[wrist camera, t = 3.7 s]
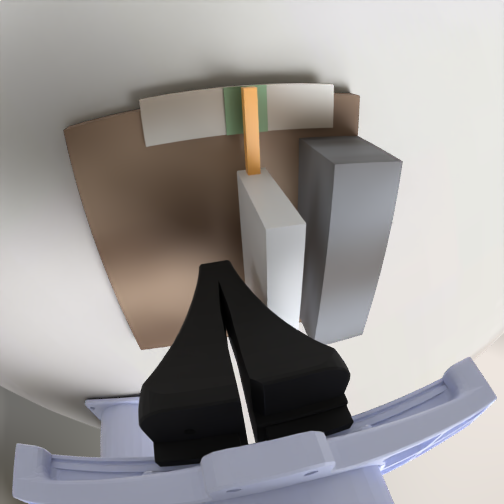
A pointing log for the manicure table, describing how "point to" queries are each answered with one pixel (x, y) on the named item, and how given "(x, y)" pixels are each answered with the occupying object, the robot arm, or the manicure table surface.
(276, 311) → the paddle
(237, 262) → the gauge frame
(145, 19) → the manicure table surface
